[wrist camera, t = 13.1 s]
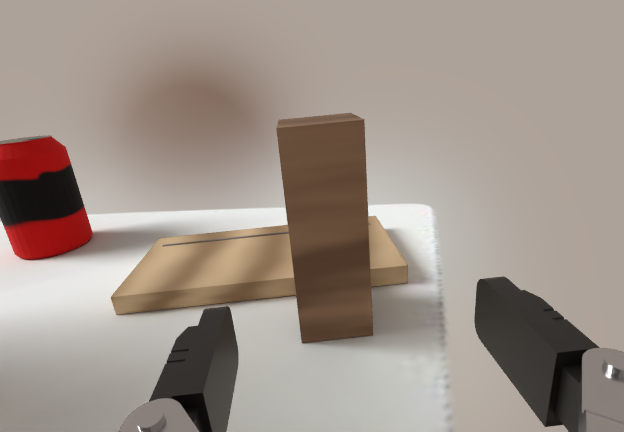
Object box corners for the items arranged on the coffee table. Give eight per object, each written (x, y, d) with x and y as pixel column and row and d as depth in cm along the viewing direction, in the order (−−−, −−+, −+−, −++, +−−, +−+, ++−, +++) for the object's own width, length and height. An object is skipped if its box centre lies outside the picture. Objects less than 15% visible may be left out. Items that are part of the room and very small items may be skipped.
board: (116, 314, 28) (110, 296, 27) (162, 251, 38) (159, 237, 38) (407, 282, 28) (407, 264, 28) (376, 229, 39) (375, 215, 38)
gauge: (372, 335, 23) (364, 119, 19) (302, 343, 23) (276, 127, 19) (340, 238, 38) (331, 103, 33) (297, 242, 37) (282, 108, 33)
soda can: (56, 261, 38) (14, 144, 34) (-2, 260, 40) (-49, 148, 36) (108, 232, 45) (78, 132, 41) (56, 232, 47) (23, 136, 43)
